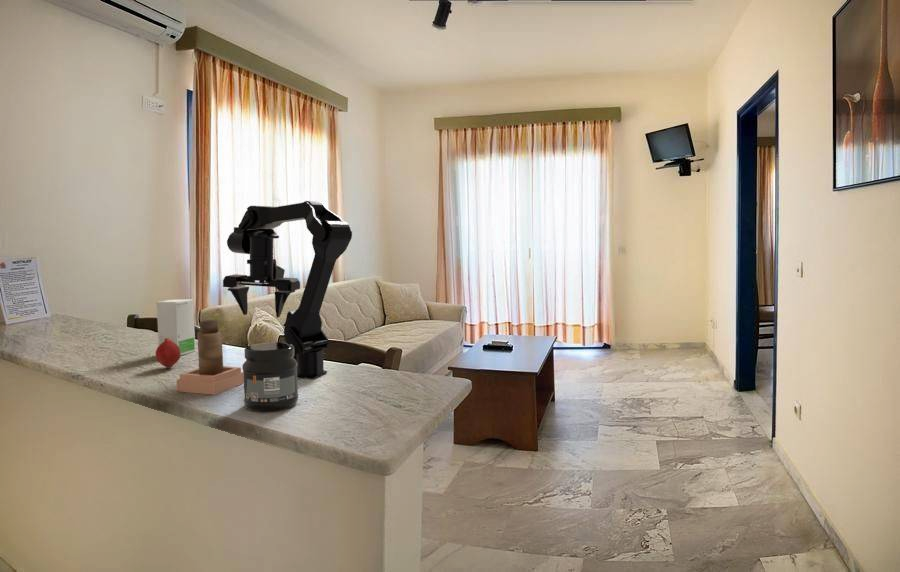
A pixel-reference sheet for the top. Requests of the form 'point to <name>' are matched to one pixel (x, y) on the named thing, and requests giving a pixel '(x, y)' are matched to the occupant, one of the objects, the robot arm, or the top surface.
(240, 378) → the mill holder
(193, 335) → the skincare box
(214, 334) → the pepper mill
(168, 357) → the onion
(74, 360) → the top surface
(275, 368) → the supplement container
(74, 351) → the top surface
